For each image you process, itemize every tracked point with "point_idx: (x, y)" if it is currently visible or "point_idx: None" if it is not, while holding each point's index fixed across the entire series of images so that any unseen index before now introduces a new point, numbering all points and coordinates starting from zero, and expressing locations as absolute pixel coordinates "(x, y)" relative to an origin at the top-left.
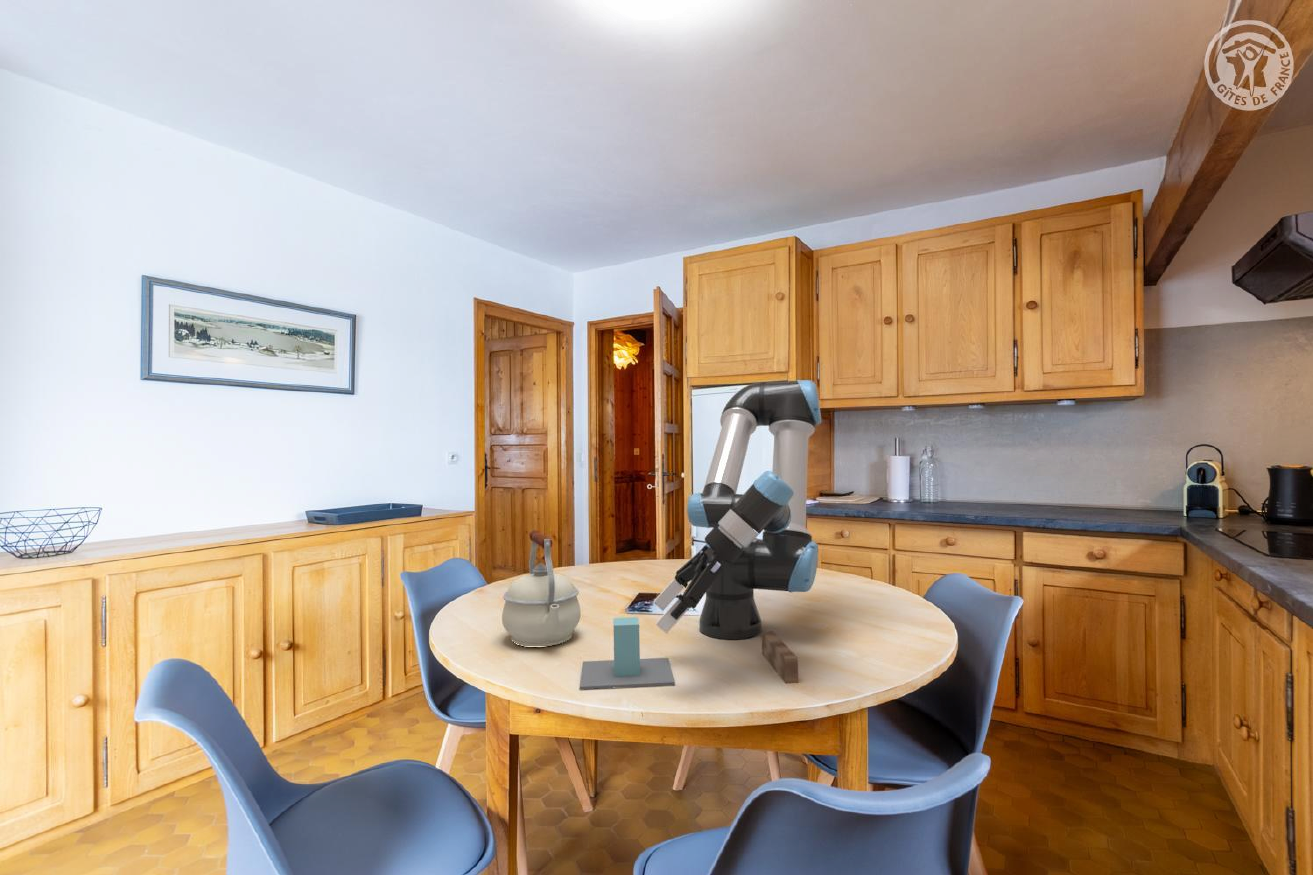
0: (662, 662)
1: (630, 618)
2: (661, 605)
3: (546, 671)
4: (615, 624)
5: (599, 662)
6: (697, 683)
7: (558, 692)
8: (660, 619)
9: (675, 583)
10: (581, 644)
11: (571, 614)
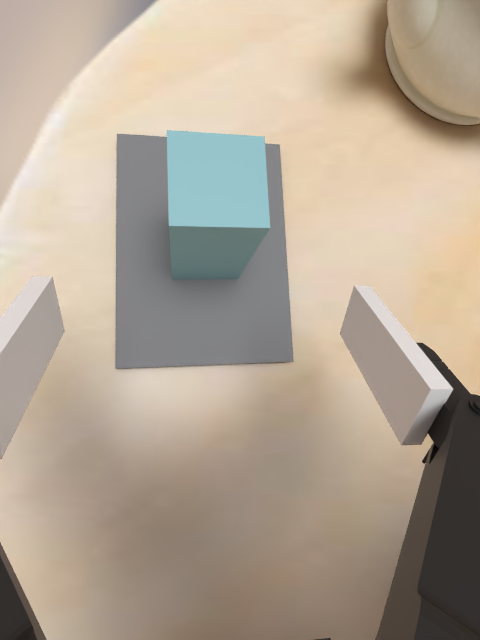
0: (258, 343)
1: (254, 198)
2: (350, 324)
3: (239, 70)
4: (181, 138)
5: (270, 183)
6: (123, 431)
7: (111, 94)
8: (19, 293)
9: (415, 397)
10: (409, 148)
11: (467, 64)
